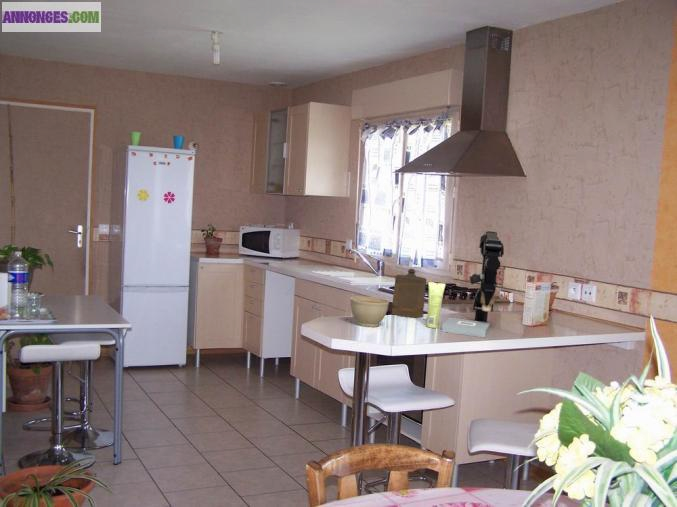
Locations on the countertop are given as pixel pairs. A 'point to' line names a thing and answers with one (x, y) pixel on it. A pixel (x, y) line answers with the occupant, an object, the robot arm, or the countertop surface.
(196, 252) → the countertop surface
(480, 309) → the robot arm
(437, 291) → the tube
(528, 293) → the cracker box
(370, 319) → the planter bowl
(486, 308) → the cream rounded piece
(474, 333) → the pale blue flat block
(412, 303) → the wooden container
